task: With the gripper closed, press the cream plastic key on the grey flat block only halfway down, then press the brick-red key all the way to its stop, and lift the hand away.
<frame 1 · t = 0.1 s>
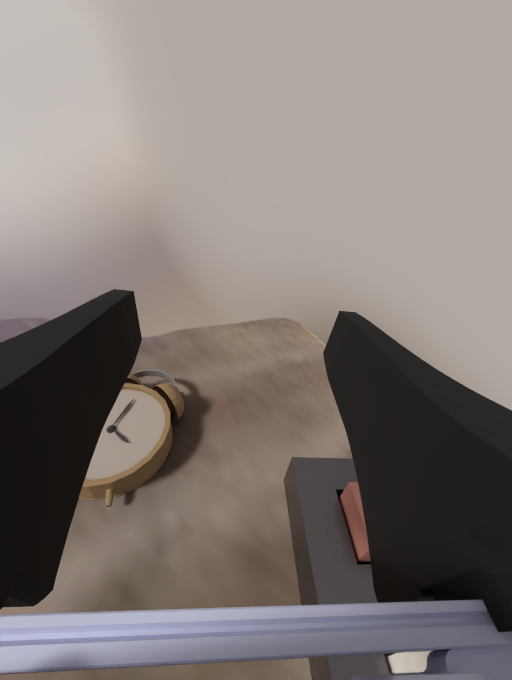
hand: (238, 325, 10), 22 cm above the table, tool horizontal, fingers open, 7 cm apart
red key: (378, 520, 21), point 4 cm above the table, slide at 0.0 cm
alarm clock: (127, 434, 30), on the table
grey flat block: (381, 614, 20), on the table
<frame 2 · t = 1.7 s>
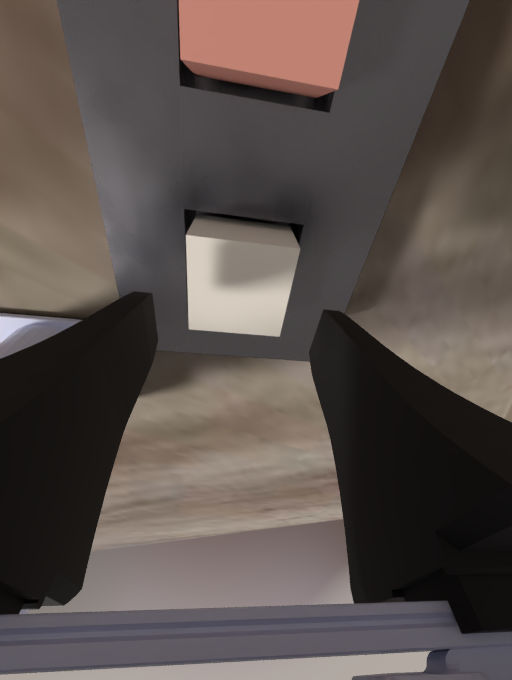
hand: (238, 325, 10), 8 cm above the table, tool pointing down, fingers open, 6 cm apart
cream key: (239, 277, 13), point 4 cm above the table, slide at 0.0 cm
grey flat block: (248, 156, 13), on the table
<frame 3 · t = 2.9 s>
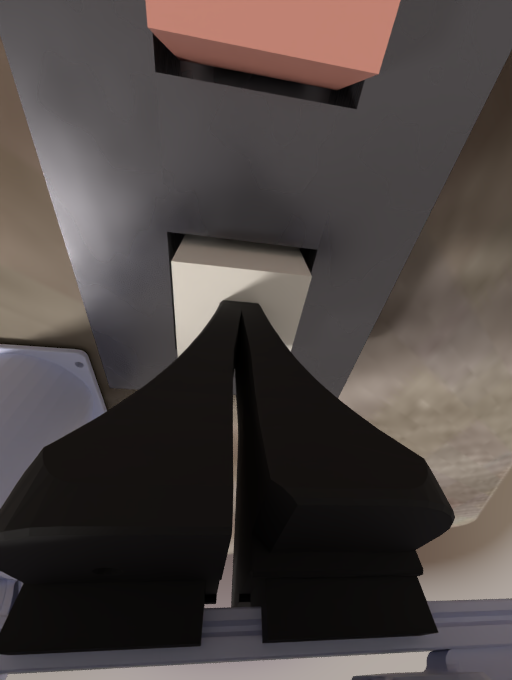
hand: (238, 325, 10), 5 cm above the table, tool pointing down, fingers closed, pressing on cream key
cream key: (238, 304, 11), point 4 cm above the table, slide at 0.6 cm, touching gripper
grey flat block: (248, 163, 11), on the table
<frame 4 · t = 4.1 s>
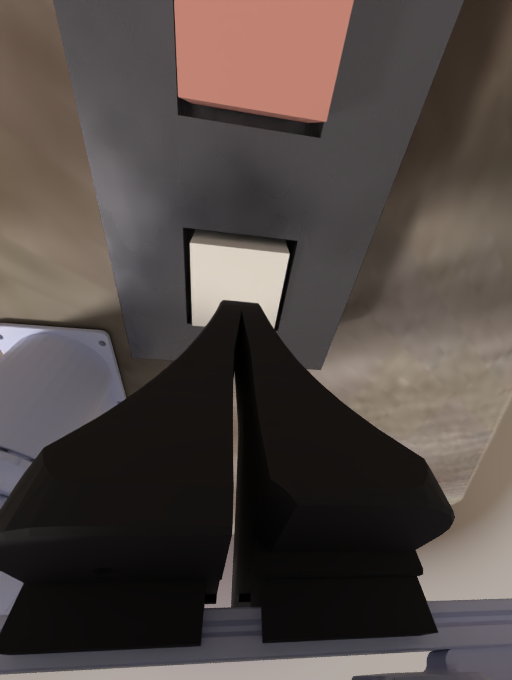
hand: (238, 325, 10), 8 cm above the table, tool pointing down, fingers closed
red key: (262, 12, 8), point 4 cm above the table, slide at 0.0 cm
cream key: (237, 279, 14), point 3 cm above the table, slide at 1.3 cm
grey flat block: (245, 173, 14), on the table
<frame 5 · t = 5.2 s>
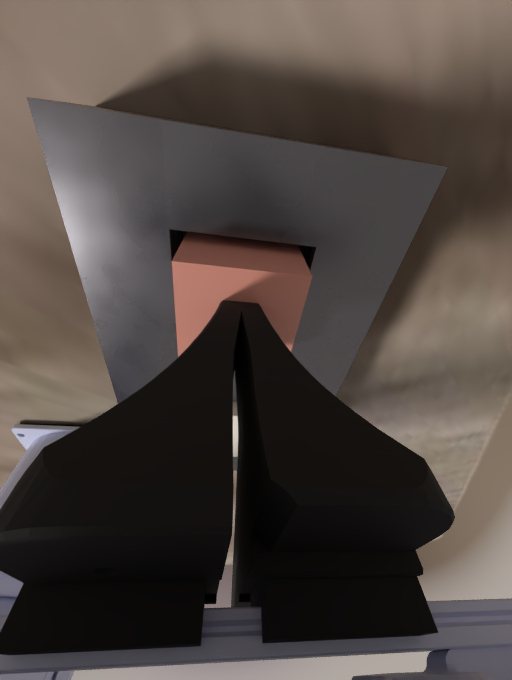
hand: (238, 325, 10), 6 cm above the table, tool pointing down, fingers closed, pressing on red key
red key: (238, 304, 11), point 4 cm above the table, slide at 0.3 cm, touching gripper
cream key: (225, 416, 17), point 3 cm above the table, slide at 1.3 cm
grey flat block: (232, 331, 17), on the table
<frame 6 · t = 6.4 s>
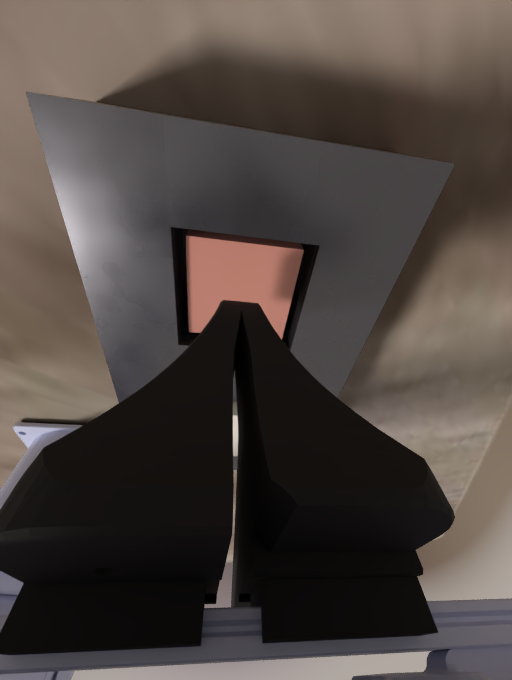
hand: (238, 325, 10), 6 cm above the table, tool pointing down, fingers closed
red key: (240, 279, 12), point 2 cm above the table, slide at 2.5 cm, touching grey flat block
cream key: (227, 415, 17), point 3 cm above the table, slide at 1.3 cm
grey flat block: (234, 330, 17), on the table
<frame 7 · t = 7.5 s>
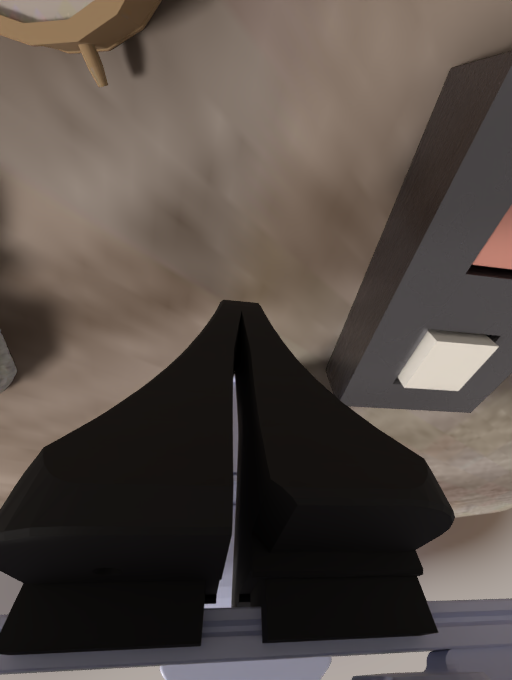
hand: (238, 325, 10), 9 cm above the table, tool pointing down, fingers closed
cream key: (436, 353, 20), point 3 cm above the table, slide at 1.3 cm
grey flat block: (445, 278, 19), on the table
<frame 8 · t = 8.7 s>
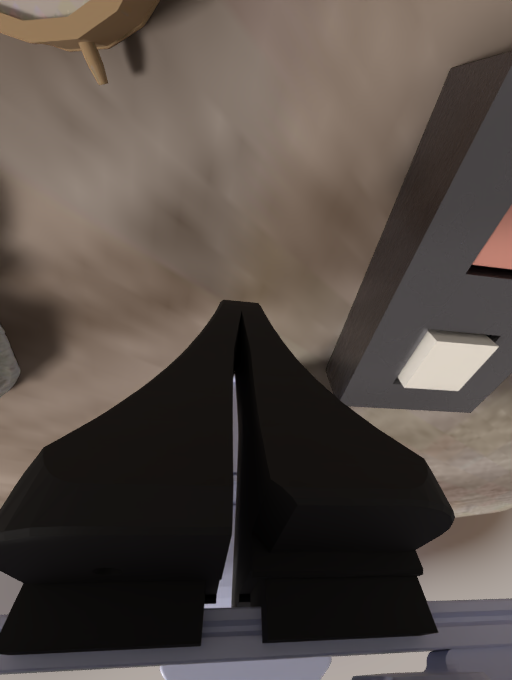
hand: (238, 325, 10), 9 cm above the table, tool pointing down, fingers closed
cream key: (436, 353, 20), point 3 cm above the table, slide at 1.3 cm
grey flat block: (445, 278, 19), on the table
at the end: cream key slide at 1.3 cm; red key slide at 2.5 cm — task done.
